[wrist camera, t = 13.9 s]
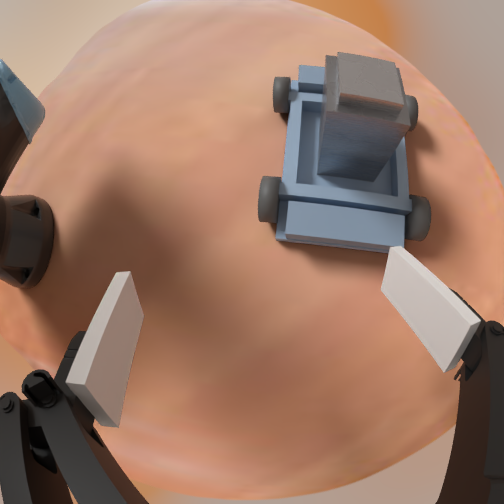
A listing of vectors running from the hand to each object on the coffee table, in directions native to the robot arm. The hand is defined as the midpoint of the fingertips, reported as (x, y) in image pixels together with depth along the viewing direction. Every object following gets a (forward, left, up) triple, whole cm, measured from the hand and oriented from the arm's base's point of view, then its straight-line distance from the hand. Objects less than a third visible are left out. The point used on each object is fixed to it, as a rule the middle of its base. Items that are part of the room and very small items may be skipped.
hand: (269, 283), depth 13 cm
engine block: (+5, +14, -13) cm, 20 cm away
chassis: (+5, +14, -14) cm, 21 cm away
